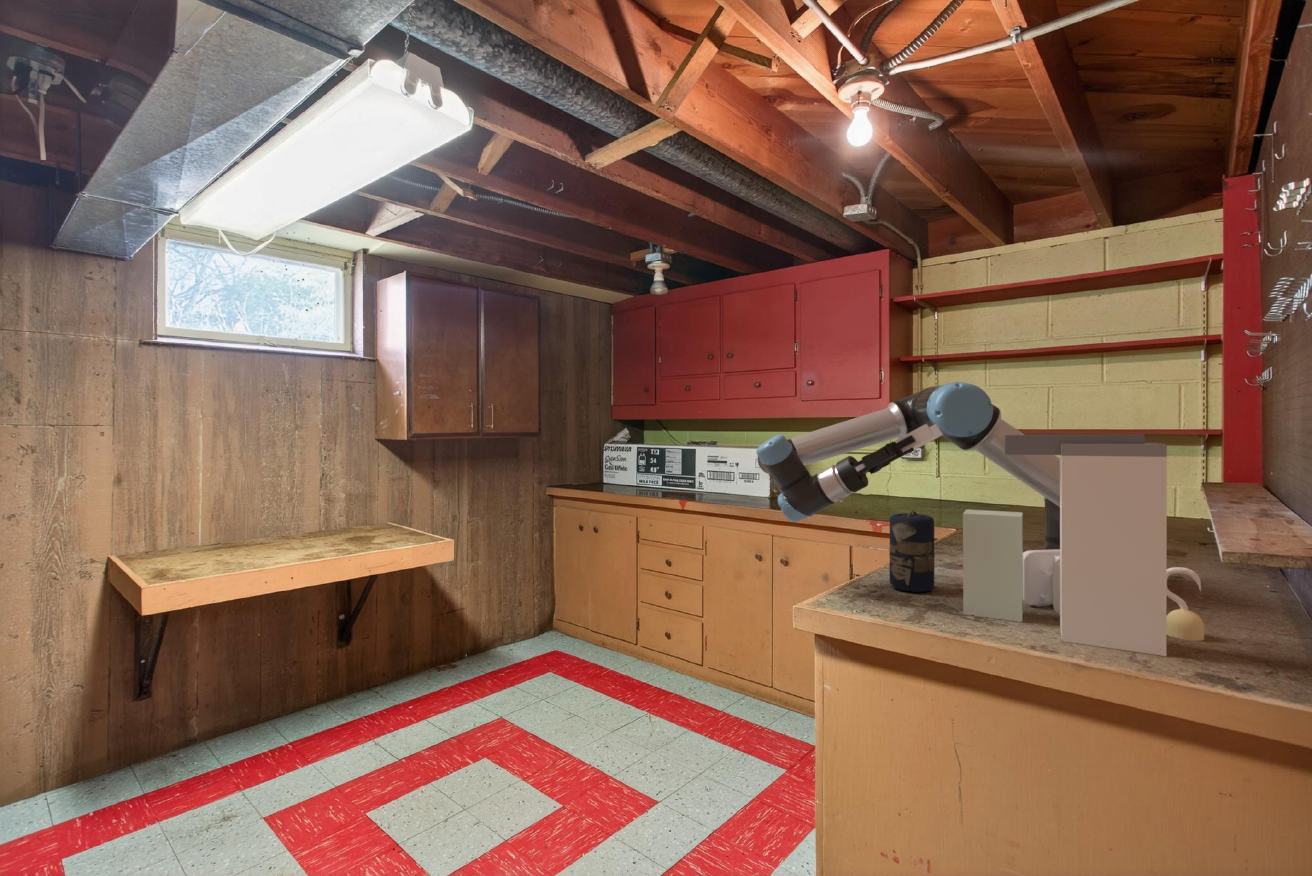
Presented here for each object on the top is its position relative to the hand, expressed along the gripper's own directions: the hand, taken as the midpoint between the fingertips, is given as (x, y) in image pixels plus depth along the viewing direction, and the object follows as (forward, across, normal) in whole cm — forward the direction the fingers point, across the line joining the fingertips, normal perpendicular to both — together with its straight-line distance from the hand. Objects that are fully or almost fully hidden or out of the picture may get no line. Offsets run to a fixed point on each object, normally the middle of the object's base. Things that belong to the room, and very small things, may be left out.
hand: (935, 429), depth 125 cm
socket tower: (+6, +6, -46) cm, 47 cm away
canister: (-24, -14, -28) cm, 40 cm away
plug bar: (+17, +6, -15) cm, 24 cm away
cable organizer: (+2, -12, -44) cm, 45 cm away
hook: (+16, -4, -52) cm, 54 cm away
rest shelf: (-10, -2, -37) cm, 38 cm away
